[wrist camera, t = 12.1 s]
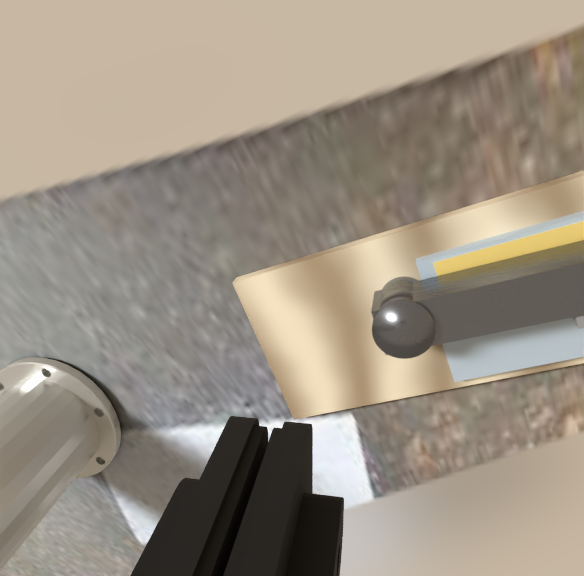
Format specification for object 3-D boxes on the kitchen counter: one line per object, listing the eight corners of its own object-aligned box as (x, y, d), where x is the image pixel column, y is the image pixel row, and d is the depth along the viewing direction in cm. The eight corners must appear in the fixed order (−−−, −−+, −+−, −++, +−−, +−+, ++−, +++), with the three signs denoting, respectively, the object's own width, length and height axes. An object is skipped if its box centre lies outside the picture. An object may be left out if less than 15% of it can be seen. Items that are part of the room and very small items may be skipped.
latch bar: (384, 336, 34) (381, 368, 30) (368, 288, 32) (363, 315, 29) (632, 283, 29) (663, 313, 25) (623, 224, 28) (654, 248, 24)
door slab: (453, 375, 35) (458, 411, 31) (415, 258, 32) (416, 282, 29) (643, 337, 31) (673, 372, 28) (618, 200, 28) (647, 220, 25)
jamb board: (296, 411, 40) (294, 419, 39) (236, 277, 37) (232, 282, 36) (657, 339, 32) (664, 347, 31) (625, 157, 28) (632, 160, 28)
